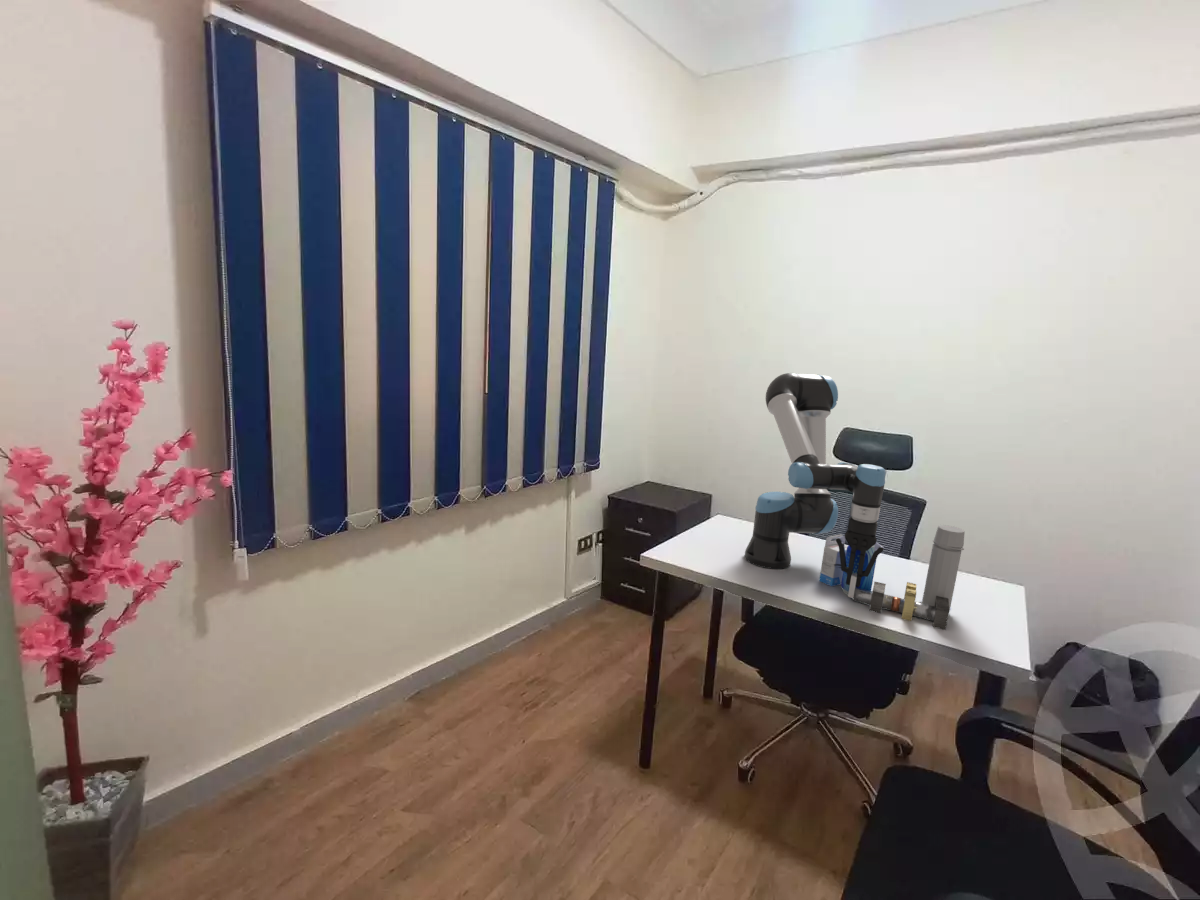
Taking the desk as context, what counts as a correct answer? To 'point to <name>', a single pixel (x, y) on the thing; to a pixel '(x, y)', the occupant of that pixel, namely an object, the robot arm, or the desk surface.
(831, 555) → the ink box
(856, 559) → the beer can
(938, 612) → the collar
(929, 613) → the tube
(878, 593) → the collar
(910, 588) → the aperture bridge
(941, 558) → the water bottle
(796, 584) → the desk surface
